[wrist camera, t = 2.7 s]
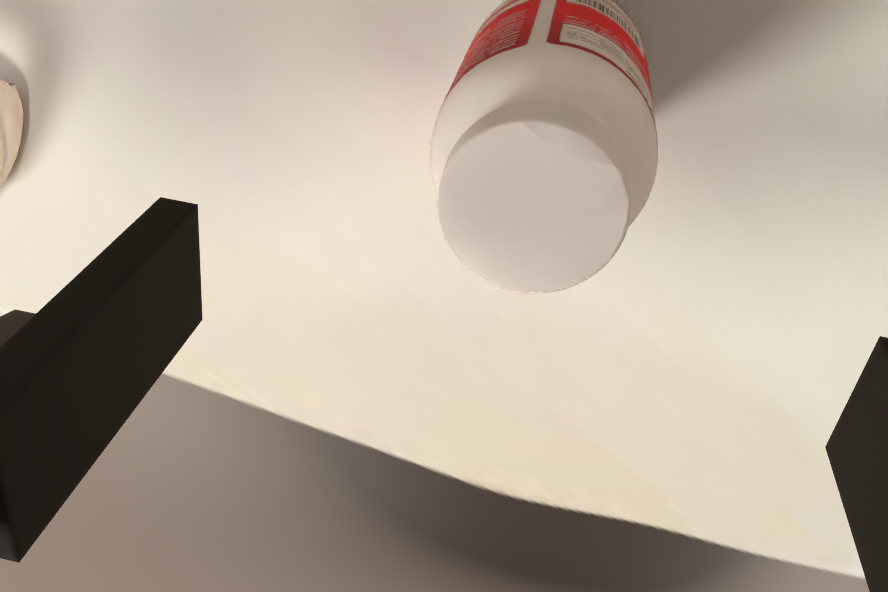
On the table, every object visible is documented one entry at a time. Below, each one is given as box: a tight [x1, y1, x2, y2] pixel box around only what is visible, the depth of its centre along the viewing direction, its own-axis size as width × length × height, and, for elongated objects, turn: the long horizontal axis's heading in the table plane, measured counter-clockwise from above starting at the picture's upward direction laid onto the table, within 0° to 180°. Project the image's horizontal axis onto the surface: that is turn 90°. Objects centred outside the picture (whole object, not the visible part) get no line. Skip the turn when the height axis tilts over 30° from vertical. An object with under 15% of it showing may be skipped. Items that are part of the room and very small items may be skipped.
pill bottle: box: [430, 0, 658, 293], centre depth 25 cm, size 6×6×11 cm
